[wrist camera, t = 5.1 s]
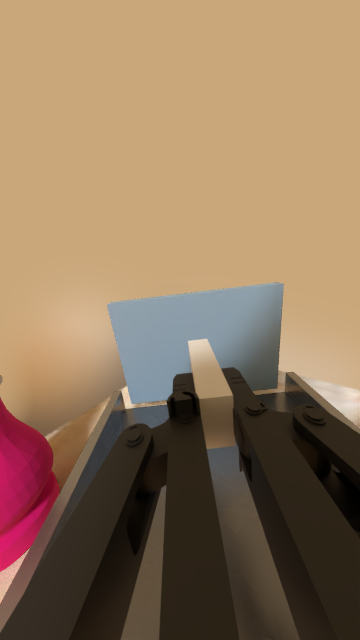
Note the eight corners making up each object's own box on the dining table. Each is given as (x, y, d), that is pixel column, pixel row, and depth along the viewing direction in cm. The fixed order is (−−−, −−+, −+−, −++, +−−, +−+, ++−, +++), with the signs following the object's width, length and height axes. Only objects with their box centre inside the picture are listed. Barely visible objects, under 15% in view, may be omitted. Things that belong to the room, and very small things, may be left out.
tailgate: (267, 376, 23) (271, 281, 19) (276, 388, 20) (283, 283, 17) (135, 391, 23) (114, 300, 19) (131, 403, 21) (106, 304, 17)
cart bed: (300, 418, 21) (304, 370, 19) (518, 677, 8) (590, 593, 6) (115, 438, 22) (103, 392, 20) (11, 716, 8) (-54, 646, 6)
